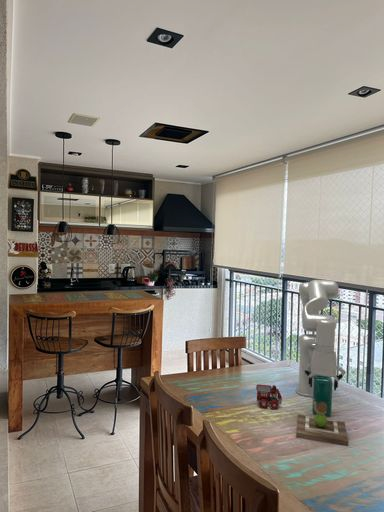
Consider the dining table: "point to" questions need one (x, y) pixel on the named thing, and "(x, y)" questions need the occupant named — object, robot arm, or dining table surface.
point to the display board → (322, 430)
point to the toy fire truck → (268, 396)
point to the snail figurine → (320, 414)
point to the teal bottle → (322, 392)
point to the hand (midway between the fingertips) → (322, 387)
